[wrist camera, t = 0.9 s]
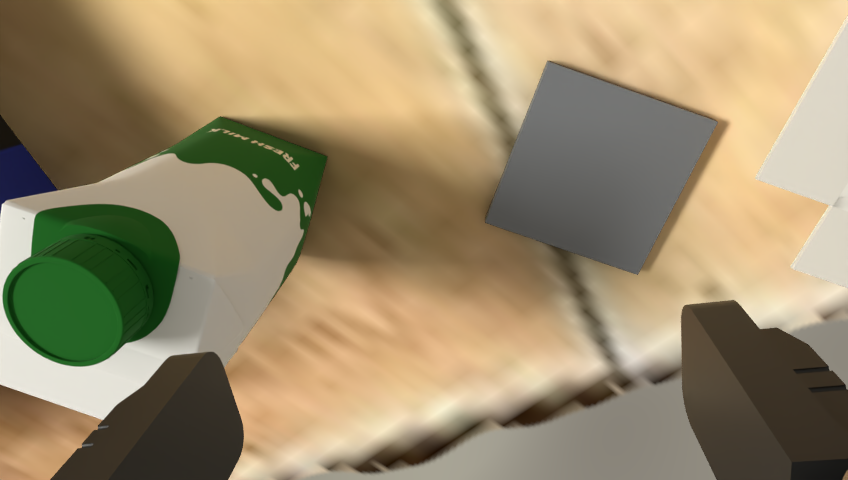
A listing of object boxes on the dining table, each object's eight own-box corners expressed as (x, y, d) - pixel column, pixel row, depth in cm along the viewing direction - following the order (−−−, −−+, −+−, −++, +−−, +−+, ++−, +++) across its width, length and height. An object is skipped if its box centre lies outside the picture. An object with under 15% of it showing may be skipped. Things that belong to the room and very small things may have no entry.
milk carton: (346, 147, 37) (211, 300, 18) (306, 272, 40) (159, 506, 22) (208, 95, 37) (-71, 199, 18) (180, 226, 40) (-79, 425, 21)
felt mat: (547, 60, 34) (549, 62, 33) (712, 119, 34) (718, 121, 34) (485, 218, 38) (485, 222, 37) (634, 269, 38) (637, 274, 38)
